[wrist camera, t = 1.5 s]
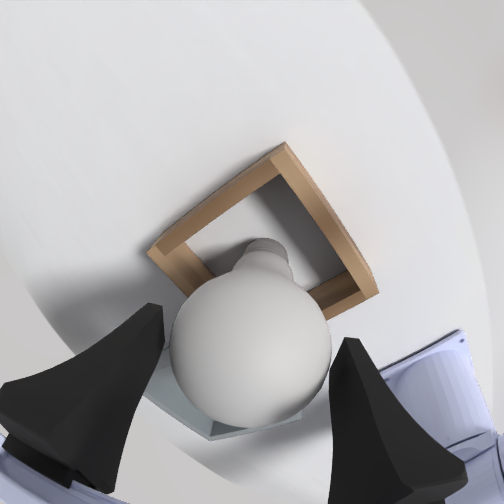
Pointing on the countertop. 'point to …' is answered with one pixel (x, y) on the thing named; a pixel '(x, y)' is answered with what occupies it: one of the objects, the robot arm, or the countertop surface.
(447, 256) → the countertop surface
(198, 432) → the parts tray
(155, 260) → the holder collar
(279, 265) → the lightbulb
